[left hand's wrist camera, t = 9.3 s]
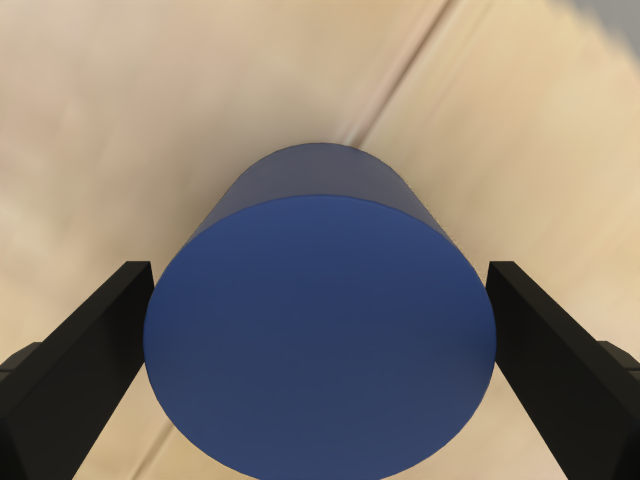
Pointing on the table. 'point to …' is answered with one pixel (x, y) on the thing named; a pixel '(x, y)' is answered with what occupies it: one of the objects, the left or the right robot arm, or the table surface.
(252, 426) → the canister
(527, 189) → the table surface
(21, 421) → the left robot arm
